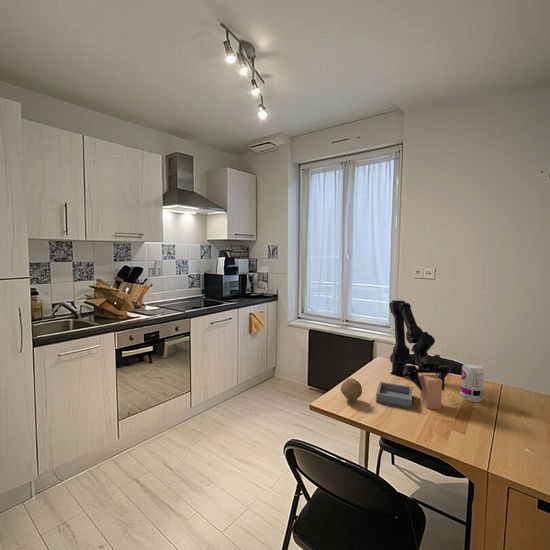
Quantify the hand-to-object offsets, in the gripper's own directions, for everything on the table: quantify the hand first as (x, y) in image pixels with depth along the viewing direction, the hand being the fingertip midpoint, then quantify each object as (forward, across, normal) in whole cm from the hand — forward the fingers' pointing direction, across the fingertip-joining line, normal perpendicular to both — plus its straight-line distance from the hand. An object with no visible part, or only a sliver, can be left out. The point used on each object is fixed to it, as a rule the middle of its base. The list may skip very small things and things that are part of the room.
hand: (432, 390), depth 134 cm
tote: (0, -13, +9) cm, 16 cm away
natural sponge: (+2, -33, +8) cm, 34 cm away
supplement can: (0, +21, +11) cm, 24 cm away
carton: (+4, 0, +6) cm, 7 cm away
